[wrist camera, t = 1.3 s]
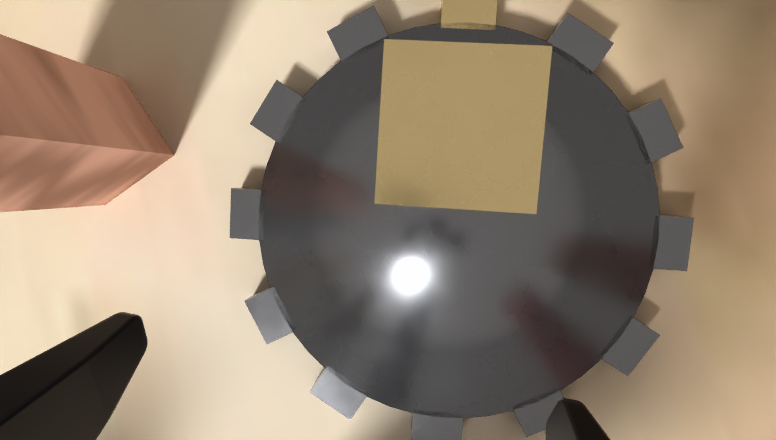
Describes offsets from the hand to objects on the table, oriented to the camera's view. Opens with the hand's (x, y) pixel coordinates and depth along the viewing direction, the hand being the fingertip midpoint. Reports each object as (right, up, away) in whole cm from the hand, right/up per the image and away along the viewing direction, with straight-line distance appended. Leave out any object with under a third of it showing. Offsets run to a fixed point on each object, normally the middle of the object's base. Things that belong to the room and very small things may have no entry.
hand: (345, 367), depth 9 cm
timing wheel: (+4, +3, +14) cm, 14 cm away
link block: (-14, +7, +14) cm, 22 cm away
